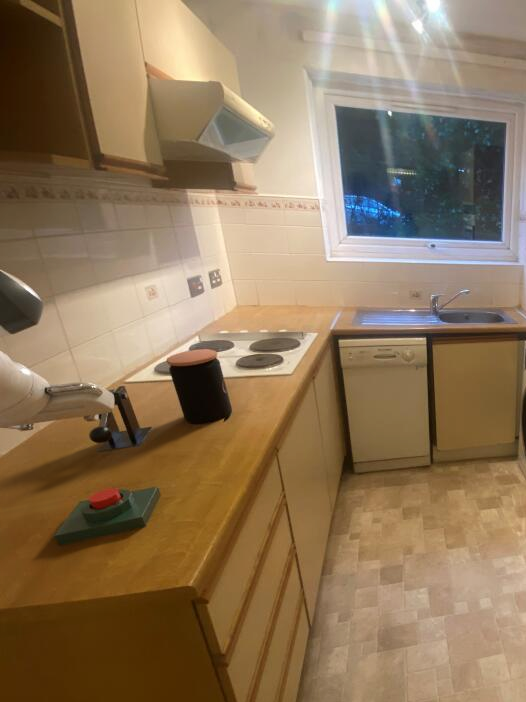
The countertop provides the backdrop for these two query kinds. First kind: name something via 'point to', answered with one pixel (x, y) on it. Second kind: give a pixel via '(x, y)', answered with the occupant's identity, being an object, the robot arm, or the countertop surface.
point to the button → (105, 498)
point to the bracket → (133, 431)
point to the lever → (102, 428)
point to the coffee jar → (200, 386)
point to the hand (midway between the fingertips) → (61, 421)
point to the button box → (109, 516)
